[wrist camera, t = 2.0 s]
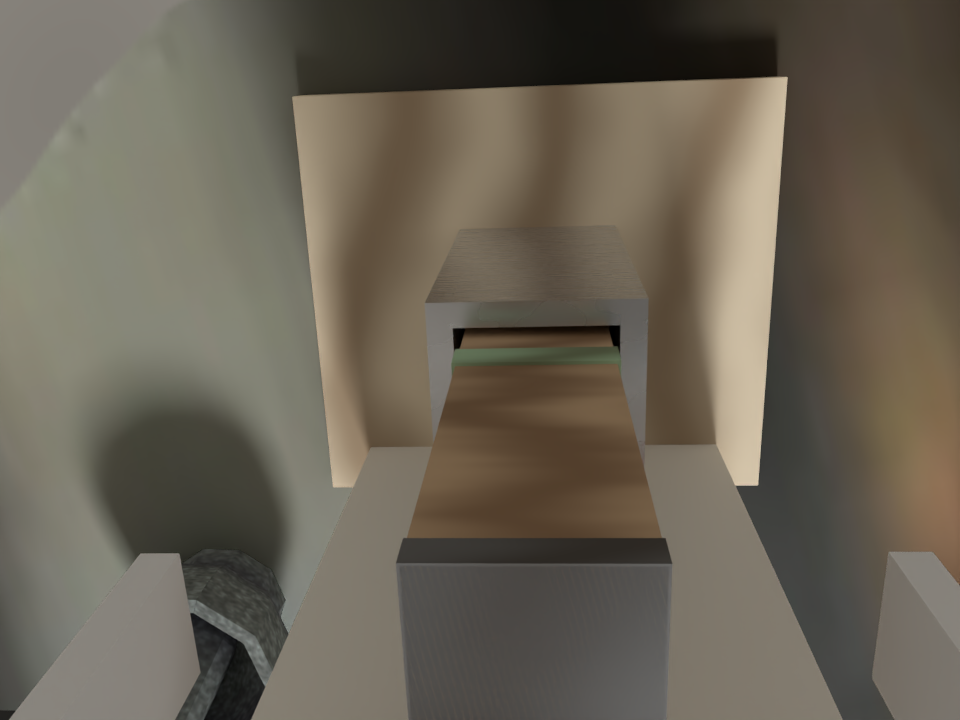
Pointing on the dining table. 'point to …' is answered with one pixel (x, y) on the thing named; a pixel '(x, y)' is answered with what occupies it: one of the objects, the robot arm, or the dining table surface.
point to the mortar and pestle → (231, 633)
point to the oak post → (535, 541)
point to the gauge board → (693, 621)
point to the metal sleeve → (539, 298)
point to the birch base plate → (546, 203)
